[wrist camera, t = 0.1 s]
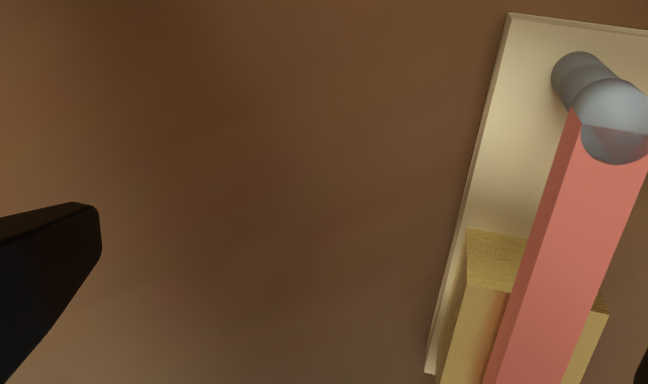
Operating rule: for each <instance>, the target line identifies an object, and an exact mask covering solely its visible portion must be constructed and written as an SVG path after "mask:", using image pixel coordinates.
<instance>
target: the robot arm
mask: <svg viewBox="0 0 648 384" xmlns="http://www.w3.org/2000/svg"><path fill="white" fill-rule="evenodd" d="M101 252H102V240H101V231H100V221H99V214H98V211H97V209H96V208H95V207H94V206H91V205H87V204H82V203H78V202H68V203H63V204H59V205H54V206H50V207H45V208H41V209H36V210H32V211H27V212H23V213H19V214H14V215H10V216H5V217H1V218H0V384H5V382H6V381H7V380H8V379H9V378H10V377H11V375H12V374H13V373H14V372H15V371H16V370H17V368H18V367H19V366H20V365H21V364H22V362H23V361H24V360H25V359H26V358H27V357H28V355H29V354H30V353H31V352H32V351H33V350H34V348H35V347H36V346H37V345H38V344H39V343H40V341H41V340H42V339H43V338H44V337H45V335H46V334H47V333H48V332H49V330H50V329H51V328H52V326H53V325H54V324H55V322H56V321H57V320H58V318H59V317H60V315H61V314H62V312H63V311H64V310H65V308H66V307H67V305H68V304H69V302H70V301H71V300H72V298H73V297H74V295H75V294H76V292H77V291H78V289H79V288H80V287H81V285H82V284H83V282H84V281H85V279H86V278H87V276H88V275H89V274H90V272H91V271H92V269H93V268H94V266H95V265H96V264H97V262H98V260H99V258H100V256H101ZM633 384H648V348H647V350H646V352H645V354H644V356H643V358H642V360H641V362H640V364H639V366H638V368H637V370H636V373H635V376H634V381H633Z"/></svg>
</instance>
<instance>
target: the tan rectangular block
mask: <svg viewBox="0 0 648 384" xmlns="http://www.w3.org/2000/svg"><path fill="white" fill-rule="evenodd" d="M527 241H528V239H525V238H520V237H515V236H510V235H505V234H500V233H495V232H490V231H485V230H480V229H475V228H470V227H467V228H466V232H465V236H464V240H463V244H462V248H461V252H460V255H459V259H458V263H457V267H456V271H455V275H454V279H453V283H452V287H451V291H450V295H449V298H448V302H447V306H446V310H445V314H444V318H443V322H442V326H441V330H440V334H439V338H438V343H437V357H436V371H435V384H482V382H483V378H484V375H485V372H486V369H487V366H488V363H489V360H490V357H491V353H492V350H493V347H494V344H495V341H496V338H497V335H498V332H499V328H500V325H501V322H502V319H503V316H504V313H505V310H506V307H507V303H508V300H509V297H510V294H511V291H512V288H513V285H514V282H515V278H516V275H517V272H518V269H519V266H520V263H521V260H522V257H523V253H524V250H525V247H526V244H527ZM608 317H609V312H608V310H607V307H606V304H605V302H604V299H603V297H602V294H601V291H600V289H599V291H598V293H597V295H596V298H595V300H594V303H593V305H592V308H591V310H590V312H589V315H588V317H587V320H586V322H585V325H584V327H583V329H582V332H581V334H580V337H579V339H578V342H577V344H576V346H575V349H574V351H573V354H572V356H571V359H570V361H569V363H568V366H567V368H566V371H565V373H564V376H563V378H562V380H561V383H560V384H580V382H581V379H582V377H583V375H584V373H585V370H586V368H587V366H588V363H589V361H590V359H591V356H592V354H593V352H594V350H595V347H596V345H597V343H598V340H599V338H600V336H601V333H602V331H603V329H604V327H605V324H606V322H607V320H608Z"/></svg>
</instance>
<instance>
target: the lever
mask: <svg viewBox="0 0 648 384" xmlns="http://www.w3.org/2000/svg"><path fill="white" fill-rule="evenodd" d="M647 172H648V97H647V96H646V95H645V94H644V93H643V92H642V91H640V90H639V89H638V88H637V87H636V86H635V85H633V84H632V83H630V82H628V81H626V80H623V79H619V78H604V79H600V80H597V81H594V82H592V83H590V84H588V85H587V86H585V87H584V88H583V89H582V90H581V91H580V92H579V93H578V94H577V95H576V96H575V98H574V100H573V101H572V104H571V107H570V110H569V113H568V116H567V119H566V122H565V125H564V128H563V132H562V135H561V138H560V141H559V144H558V147H557V150H556V153H555V157H554V160H553V163H552V166H551V169H550V172H549V175H548V178H547V182H546V185H545V188H544V191H543V194H542V197H541V200H540V203H539V207H538V210H537V213H536V216H535V219H534V222H533V225H532V228H531V232H530V235H529V238H528V241H527V244H526V247H525V250H524V253H523V257H522V260H521V263H520V266H519V269H518V272H517V275H516V278H515V282H514V285H513V288H512V291H511V294H510V297H509V300H508V303H507V307H506V310H505V313H504V316H503V319H502V322H501V325H500V328H499V332H498V335H497V338H496V341H495V344H494V347H493V350H492V353H491V357H490V360H489V363H488V366H487V369H486V372H485V375H484V378H483V382H482V384H560V383H561V380H562V378H563V376H564V373H565V371H566V368H567V366H568V363H569V361H570V359H571V356H572V354H573V351H574V349H575V346H576V344H577V342H578V339H579V337H580V334H581V332H582V329H583V327H584V325H585V322H586V320H587V317H588V315H589V312H590V310H591V308H592V305H593V303H594V300H595V298H596V295H597V293H598V291H599V288H600V286H601V283H602V281H603V278H604V276H605V274H606V271H607V269H608V266H609V264H610V261H611V259H612V257H613V254H614V252H615V249H616V247H617V244H618V242H619V240H620V237H621V235H622V232H623V230H624V227H625V225H626V223H627V220H628V218H629V215H630V213H631V210H632V208H633V206H634V203H635V201H636V198H637V196H638V193H639V191H640V189H641V186H642V184H643V181H644V179H645V176H646V174H647Z"/></svg>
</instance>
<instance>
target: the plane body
mask: <svg viewBox="0 0 648 384" xmlns="http://www.w3.org/2000/svg"><path fill="white" fill-rule="evenodd" d="M604 78H619V79H623V80H626V81H628V82H630V83H632V84H633V85H635V86H636V87H637V88H638V89H639V90H640V91H642V92H643V93H644V94H645V95H646V96H647V97H648V30H640V29H633V28H625V27H617V26H610V25H602V24H595V23H587V22H579V21H572V20H564V19H556V18H549V17H541V16H534V15H526V14H518V13H511V12H508V13H507V17H506V21H505V25H504V29H503V33H502V38H501V42H500V46H499V50H498V54H497V58H496V62H495V66H494V70H493V74H492V78H491V83H490V87H489V91H488V95H487V99H486V103H485V107H484V111H483V115H482V119H481V124H480V128H479V132H478V136H477V140H476V144H475V148H474V152H473V156H472V160H471V164H470V169H469V173H468V177H467V181H466V185H465V189H464V193H463V197H462V201H461V205H460V209H459V214H458V218H457V222H456V226H455V230H454V234H453V238H452V242H451V246H450V250H449V255H448V259H447V263H446V267H445V271H444V275H443V279H442V283H441V287H440V291H439V295H438V300H437V304H436V308H435V312H434V316H433V320H432V324H431V328H430V332H429V336H428V341H427V346H426V356H425V367H424V372H425V373H429V374H433V375H435V371H436V357H437V343H438V338H439V334H440V330H441V326H442V322H443V318H444V314H445V310H446V306H447V302H448V298H449V295H450V291H451V287H452V283H453V279H454V275H455V271H456V267H457V263H458V259H459V255H460V252H461V248H462V244H463V240H464V236H465V232H466V228H467V227H470V228H475V229H480V230H485V231H490V232H495V233H500V234H505V235H510V236H515V237H520V238H525V239H528V238H529V235H530V232H531V228H532V225H533V222H534V219H535V216H536V213H537V210H538V207H539V203H540V200H541V197H542V194H543V191H544V188H545V185H546V182H547V178H548V175H549V172H550V169H551V166H552V163H553V160H554V157H555V153H556V150H557V147H558V144H559V141H560V138H561V135H562V132H563V128H564V125H565V122H566V119H567V116H568V113H569V110H570V107H571V104H572V101H573V100H574V98H575V96H576V95H577V94H578V93H579V92H580V91H581V90H582V89H583V88H584V87H585V86H587V85H588V84H590V83H592V82H594V81H597V80H600V79H604Z"/></svg>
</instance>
